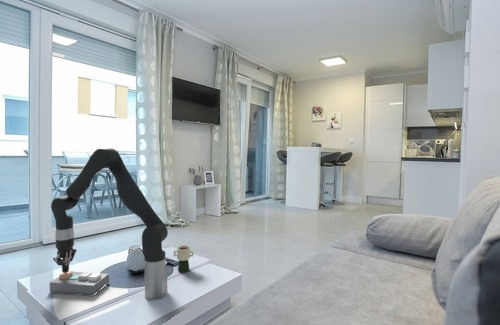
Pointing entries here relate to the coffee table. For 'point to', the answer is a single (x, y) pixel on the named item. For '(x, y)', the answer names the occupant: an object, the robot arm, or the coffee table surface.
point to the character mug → (183, 257)
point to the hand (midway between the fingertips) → (65, 272)
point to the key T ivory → (94, 277)
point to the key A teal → (74, 277)
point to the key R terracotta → (65, 275)
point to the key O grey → (84, 276)
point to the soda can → (134, 248)
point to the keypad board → (78, 285)
